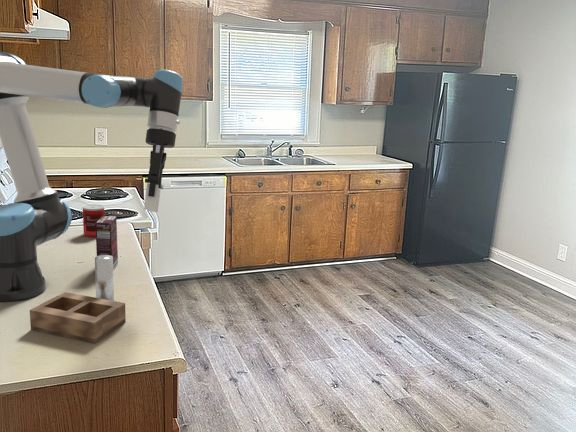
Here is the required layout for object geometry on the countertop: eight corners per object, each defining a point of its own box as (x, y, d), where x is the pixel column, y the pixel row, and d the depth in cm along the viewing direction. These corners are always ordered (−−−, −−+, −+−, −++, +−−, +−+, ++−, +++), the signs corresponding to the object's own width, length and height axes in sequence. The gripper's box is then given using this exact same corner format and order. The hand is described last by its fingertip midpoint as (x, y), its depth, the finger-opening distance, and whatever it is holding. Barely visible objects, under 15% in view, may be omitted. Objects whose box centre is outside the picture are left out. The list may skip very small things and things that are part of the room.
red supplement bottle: (97, 230, 204) (97, 203, 201) (109, 235, 199) (108, 207, 196) (79, 234, 198) (78, 206, 195) (90, 238, 193) (89, 210, 190)
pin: (92, 306, 136) (91, 258, 133) (103, 300, 140) (101, 254, 137) (107, 308, 135) (106, 261, 132) (117, 302, 139) (116, 256, 136)
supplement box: (103, 263, 168) (101, 215, 165) (118, 263, 169) (117, 216, 165) (96, 272, 160) (94, 222, 156) (112, 272, 161) (111, 223, 157)
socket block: (30, 329, 122) (29, 310, 121) (65, 310, 133) (64, 291, 132) (95, 343, 117) (94, 322, 116) (125, 322, 128) (125, 303, 127)
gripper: (175, 123, 125) (164, 211, 124) (176, 140, 150) (166, 213, 149) (143, 118, 124) (131, 207, 123) (149, 136, 148) (139, 210, 147)
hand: (151, 211), depth 136 cm, fingers open, 13 cm apart
